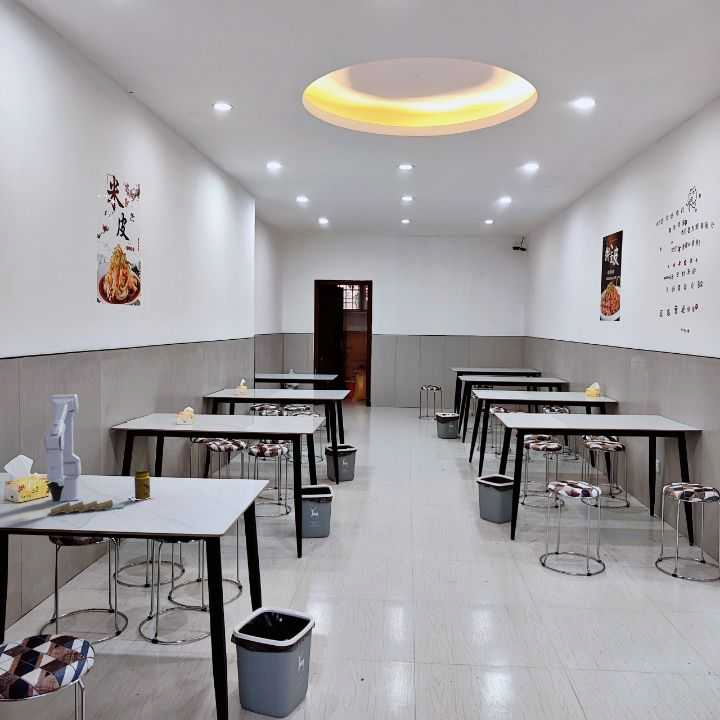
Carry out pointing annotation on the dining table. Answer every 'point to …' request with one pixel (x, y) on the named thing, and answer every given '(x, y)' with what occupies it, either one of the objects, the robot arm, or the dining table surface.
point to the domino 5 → (115, 506)
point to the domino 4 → (104, 505)
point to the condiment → (142, 484)
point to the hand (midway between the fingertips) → (56, 501)
